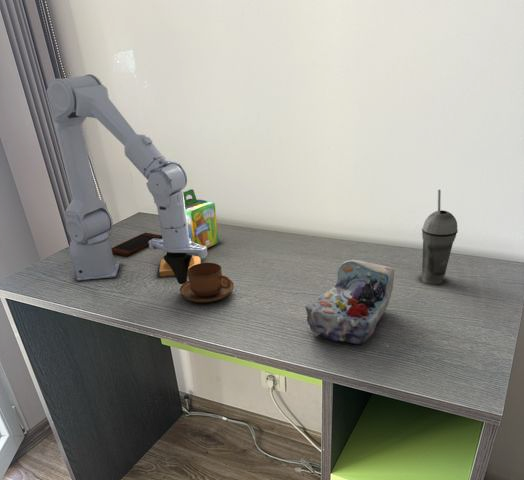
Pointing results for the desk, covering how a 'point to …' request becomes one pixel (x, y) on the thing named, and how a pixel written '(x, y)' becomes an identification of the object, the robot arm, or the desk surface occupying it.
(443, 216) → the beverage cup
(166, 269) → the box
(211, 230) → the chalk box
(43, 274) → the desk surface
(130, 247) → the smartphone
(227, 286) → the cup and saucer
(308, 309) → the cell model
